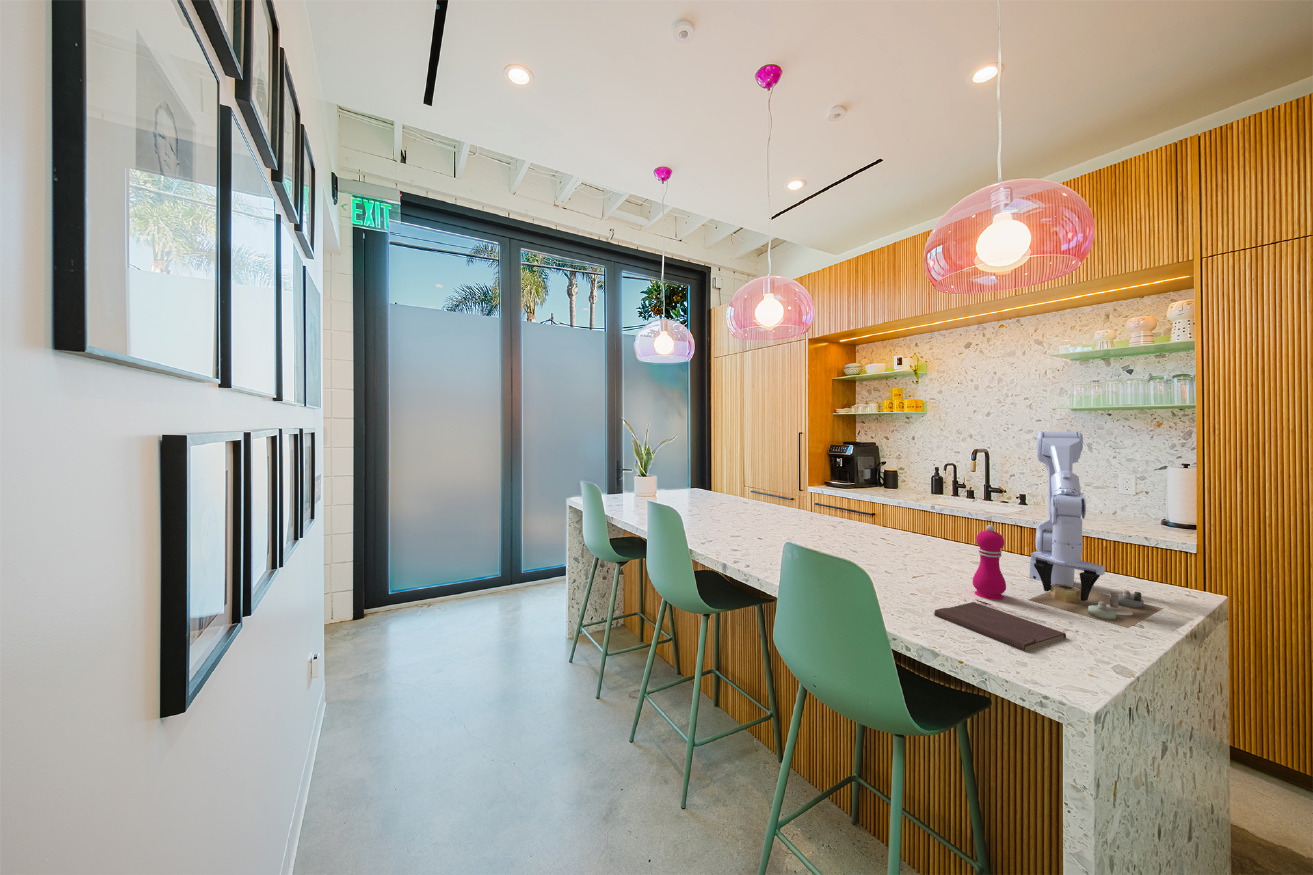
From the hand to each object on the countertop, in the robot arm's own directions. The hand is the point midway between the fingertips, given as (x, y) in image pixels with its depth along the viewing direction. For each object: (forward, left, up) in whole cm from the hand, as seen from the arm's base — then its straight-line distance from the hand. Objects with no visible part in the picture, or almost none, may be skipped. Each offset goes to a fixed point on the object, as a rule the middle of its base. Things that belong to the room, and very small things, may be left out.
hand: (1065, 595), depth 122 cm
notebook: (-2, -29, -3) cm, 29 cm away
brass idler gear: (0, 0, -1) cm, 1 cm away
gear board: (+5, +2, -3) cm, 6 cm away
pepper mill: (-11, -14, -3) cm, 18 cm away
